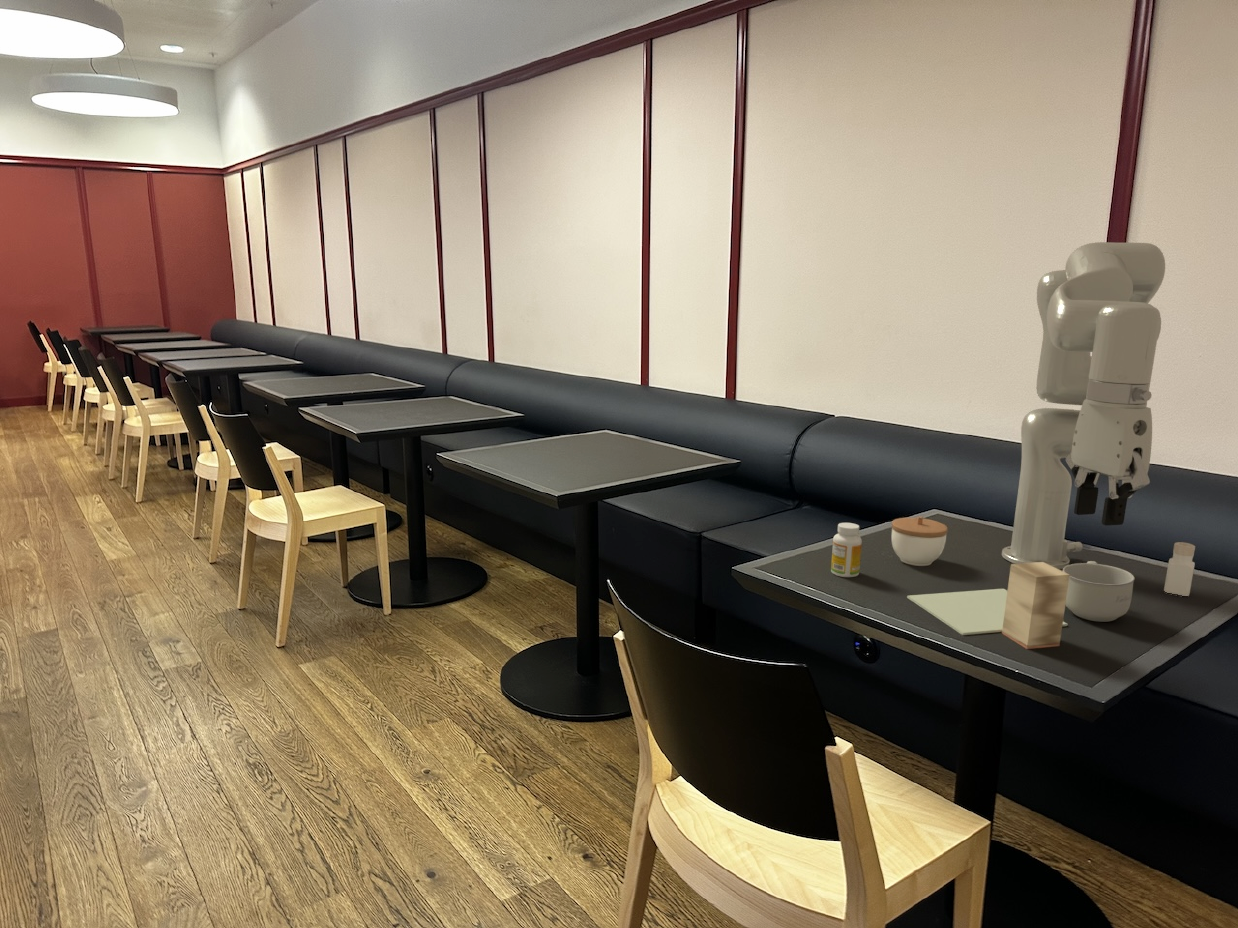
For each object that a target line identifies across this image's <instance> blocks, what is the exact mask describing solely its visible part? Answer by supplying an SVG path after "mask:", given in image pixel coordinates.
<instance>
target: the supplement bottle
mask: <svg viewBox="0 0 1238 928" xmlns="http://www.w3.org/2000/svg"><path fill="white" fill-rule="evenodd" d="M859 534H860V525H859V524H856V523H852V522H839V523H838V524H837V533H836V534H835V535H834V536H833V539H832V550H831V551H832V552H831V562H830V565H831V566H830V572H831V574H833V575H834V576H837V577H840V578H854V577H858V576H859V574H860V570H861V569H860V567H861V559H862V558H861V557H862V555H861V554H862V546H863V545H862V544H863V541H862V538H861V537H860V536H859Z"/></svg>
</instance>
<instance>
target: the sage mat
mask: <svg viewBox="0 0 1238 928" xmlns="http://www.w3.org/2000/svg"><path fill="white" fill-rule="evenodd" d="M1007 591H1008V589H1005V588H994V589H981V590H966V591H953V592H939V593H925V594H912V595H911V594H910V595H907V596H906V598H907V599H908V600H910V601H911V602H913V603H914V604H916V605H917V606H919V607H920V608H922V609H923V610H925V611H926V612H928V613H929V614H931V615H932V616H934V617H935V618H936V619H938V620H940V622H943V623H944V624H945V625H947V626H948V627H950V628H951V629H953V630H954V631H956V632H957V633H959V634H960V635H961V636H968V635H980V634H981V635H982V634H991V633H1002V629H1003V621H1004V614H1005V606H1006V598H1007ZM1062 627H1068V623H1067V622H1065V621H1063V624H1062Z"/></svg>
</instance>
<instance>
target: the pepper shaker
mask: <svg viewBox="0 0 1238 928" xmlns="http://www.w3.org/2000/svg"><path fill="white" fill-rule="evenodd" d="M1195 550H1196V546H1195V545H1194V544H1192V543H1189V542H1183V541H1181V542H1179V541H1177V542H1175V543H1174V545H1173V550H1172V551H1173V552H1172V553H1173V555H1172V557H1171V558H1169V560H1168V562H1167V563H1168V565H1167V571H1166V576H1165V581H1164V587H1163V591H1165V592H1167V593H1172V594H1178V595H1182V596H1188V597H1189V596H1190V593H1191V587H1192V581H1193V576H1194V571H1195V564H1196V563H1195V562H1194V561H1193V558H1194V555H1195ZM1165 592H1164V593H1165ZM1167 593H1166V594H1167ZM1172 594H1171V595H1172ZM1182 596H1181V597H1182Z"/></svg>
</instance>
